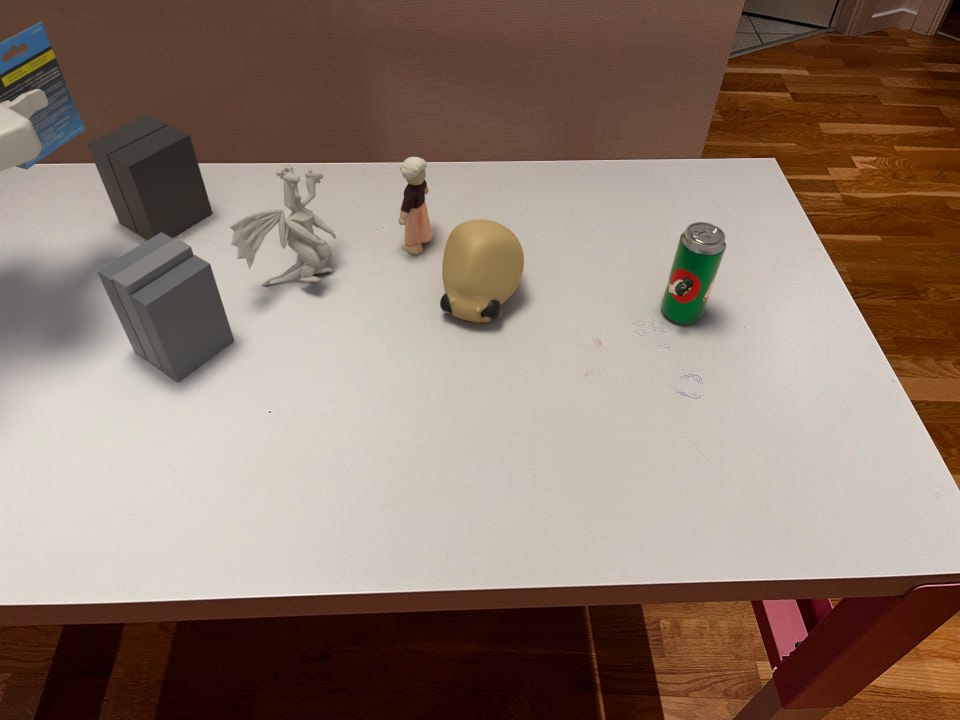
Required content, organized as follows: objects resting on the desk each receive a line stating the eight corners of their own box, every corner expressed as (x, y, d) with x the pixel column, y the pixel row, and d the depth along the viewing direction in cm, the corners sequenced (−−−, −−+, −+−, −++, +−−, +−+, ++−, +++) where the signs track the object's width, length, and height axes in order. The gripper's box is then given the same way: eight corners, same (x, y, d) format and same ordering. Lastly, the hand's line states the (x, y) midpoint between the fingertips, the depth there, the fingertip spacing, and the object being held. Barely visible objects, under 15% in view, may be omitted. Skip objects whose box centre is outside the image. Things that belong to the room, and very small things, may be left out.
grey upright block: (134, 351, 84) (94, 266, 74) (190, 312, 88) (160, 228, 79) (178, 382, 81) (142, 298, 72) (234, 340, 85) (207, 256, 76)
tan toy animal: (443, 311, 95) (415, 310, 84) (463, 218, 93) (437, 206, 83) (517, 328, 92) (497, 330, 82) (538, 233, 91) (521, 223, 81)
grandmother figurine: (426, 261, 96) (423, 177, 86) (397, 257, 96) (391, 173, 87) (437, 225, 101) (436, 142, 91) (410, 222, 101) (405, 139, 92)
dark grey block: (119, 222, 99) (86, 143, 90) (173, 191, 104) (147, 113, 95) (158, 246, 96) (128, 166, 87) (213, 213, 101) (189, 134, 92)
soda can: (705, 327, 89) (733, 248, 80) (663, 326, 89) (687, 247, 80) (697, 298, 92) (723, 220, 83) (656, 297, 92) (678, 219, 83)
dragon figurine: (232, 305, 85) (197, 185, 80) (296, 261, 101) (270, 159, 96) (310, 298, 83) (279, 174, 78) (363, 254, 99) (340, 149, 94)
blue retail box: (59, 123, 84) (13, 12, 75) (87, 130, 84) (43, 20, 74) (-2, 162, 79) (-60, 48, 70) (27, 171, 78) (-28, 56, 69)
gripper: (-71, 150, 63) (74, 88, 71) (-184, 76, 71) (-42, 28, 78) (-35, 211, 67) (98, 147, 75) (-145, 136, 75) (-14, 85, 83)
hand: (26, 86), depth 77 cm, fingers closed on blue retail box, 4 cm apart
